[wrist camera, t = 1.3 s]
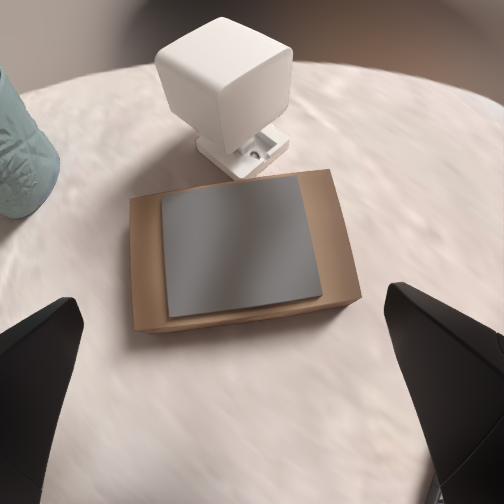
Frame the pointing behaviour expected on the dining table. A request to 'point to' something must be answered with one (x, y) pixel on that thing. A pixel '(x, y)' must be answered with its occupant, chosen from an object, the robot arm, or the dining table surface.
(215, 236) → the walnut stand
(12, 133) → the green plant pot
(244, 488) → the dining table surface
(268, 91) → the security camera
